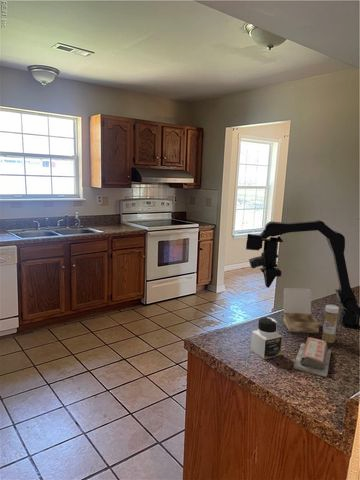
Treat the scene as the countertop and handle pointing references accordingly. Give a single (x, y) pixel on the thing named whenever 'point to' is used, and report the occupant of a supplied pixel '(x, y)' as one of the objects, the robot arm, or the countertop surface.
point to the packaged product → (313, 357)
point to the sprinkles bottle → (330, 323)
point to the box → (301, 322)
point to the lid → (297, 300)
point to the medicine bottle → (266, 339)
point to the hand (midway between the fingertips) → (267, 286)
